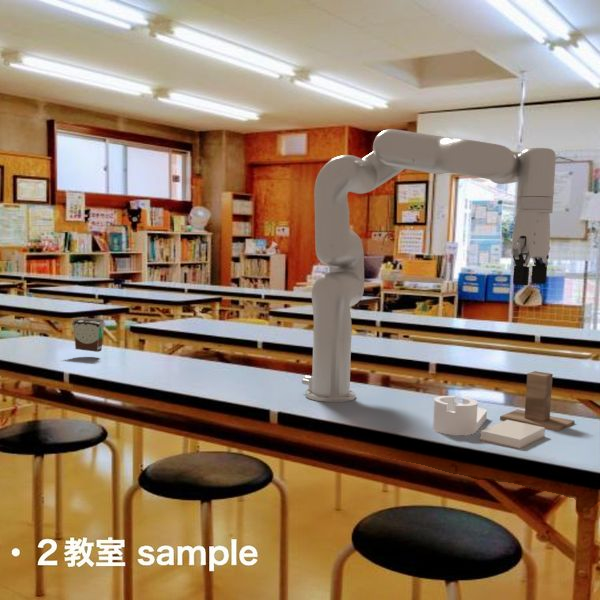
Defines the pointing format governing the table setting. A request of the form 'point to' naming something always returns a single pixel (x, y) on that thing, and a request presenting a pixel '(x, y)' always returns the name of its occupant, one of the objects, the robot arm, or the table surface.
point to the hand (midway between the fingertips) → (529, 284)
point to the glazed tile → (512, 434)
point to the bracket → (457, 416)
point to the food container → (88, 334)
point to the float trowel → (538, 404)
